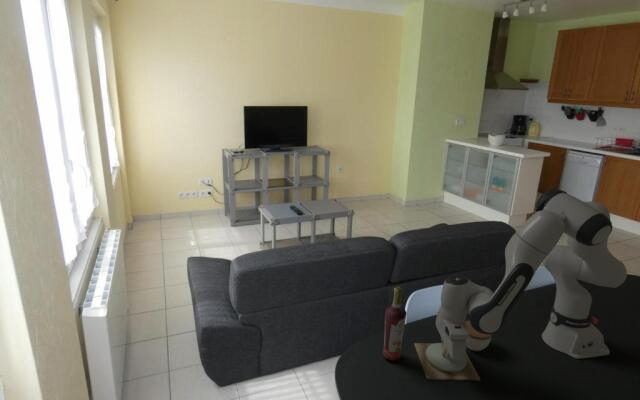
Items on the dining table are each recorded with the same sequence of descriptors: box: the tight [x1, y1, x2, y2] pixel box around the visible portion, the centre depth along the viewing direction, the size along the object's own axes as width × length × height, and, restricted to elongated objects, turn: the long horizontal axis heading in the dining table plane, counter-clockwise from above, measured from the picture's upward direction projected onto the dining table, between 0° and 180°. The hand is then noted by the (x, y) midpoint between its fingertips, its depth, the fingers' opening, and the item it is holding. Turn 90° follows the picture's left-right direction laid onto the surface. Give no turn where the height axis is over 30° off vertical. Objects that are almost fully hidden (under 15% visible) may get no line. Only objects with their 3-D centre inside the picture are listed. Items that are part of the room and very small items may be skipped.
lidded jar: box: [466, 319, 493, 352], centre depth 145 cm, size 11×11×9 cm
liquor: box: [381, 286, 407, 362], centre depth 135 cm, size 7×7×28 cm
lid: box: [426, 342, 467, 372], centre depth 136 cm, size 14×14×5 cm
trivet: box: [414, 342, 481, 381], centre depth 137 cm, size 18×18×1 cm
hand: (446, 353), depth 136 cm, fingers closed on lid, 3 cm apart
